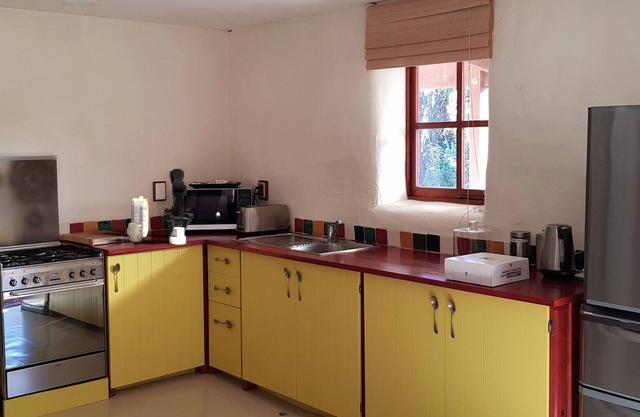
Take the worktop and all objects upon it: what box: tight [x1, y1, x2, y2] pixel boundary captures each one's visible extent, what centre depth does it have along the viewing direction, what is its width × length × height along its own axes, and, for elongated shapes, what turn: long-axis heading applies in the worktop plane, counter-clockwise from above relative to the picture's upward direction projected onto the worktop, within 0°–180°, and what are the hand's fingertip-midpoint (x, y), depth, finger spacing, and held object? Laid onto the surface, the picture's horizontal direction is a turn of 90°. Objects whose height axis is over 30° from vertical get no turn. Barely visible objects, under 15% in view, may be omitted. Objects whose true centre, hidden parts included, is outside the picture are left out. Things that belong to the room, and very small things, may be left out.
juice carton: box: [130, 195, 149, 238], centre depth 446 cm, size 9×8×24 cm
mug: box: [126, 222, 144, 243], centre depth 430 cm, size 8×13×10 cm, turn 53°
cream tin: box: [169, 235, 187, 245], centre depth 428 cm, size 9×9×4 cm
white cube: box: [171, 227, 185, 238], centre depth 428 cm, size 5×5×5 cm
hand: (177, 231), depth 428 cm, fingers open, 9 cm apart
